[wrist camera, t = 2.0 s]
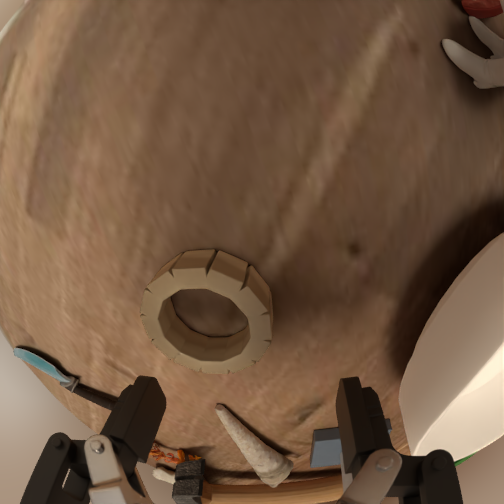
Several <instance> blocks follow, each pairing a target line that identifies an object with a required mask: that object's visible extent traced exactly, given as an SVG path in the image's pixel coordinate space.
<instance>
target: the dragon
mask: <svg viewBox="0 0 504 504" xmlns="http://www.w3.org/2000/svg"><path fill="white" fill-rule="evenodd" d="M158 446H159V445H158ZM152 447H156V448H157V450H156V449H155V448H154V449H155V450H153V449H151V450H150V453H151V452H152V453H151V454H149V455H152V456H154V455H156V456H154V457H157V455H159V458H156V460H155V461H157V459H158V460H159V459H165V458H167V459H169V460H171V461H167V460H166V459H165V462H168V463H169V462H173V463H174V462H175V463H176V464H179V463H182V462H185V459H184V458H185V455H184V452H183V450H178V451H177V452H178V456H179V459H178V458H174V455H173V454H172V453H168V454H167V455H170V456H172V458H171V457H166V456H165V455H164V453H163V451H162V452H161V451H160V450H159V449H158V447H157V446H156V444H155V443H154V444H153V445H152ZM160 452H161V453H160ZM161 457H164V458H161ZM200 458H201V457H197V456H196V455H195V457H193V456H192V455H189V459H190V460H189V461H194V459H195V460H199V459H200Z"/></svg>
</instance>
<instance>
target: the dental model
mask: <svg viewBox="0 0 504 504" xmlns="http://www.w3.org/2000/svg"><path fill="white" fill-rule="evenodd" d="M461 2H462V6H463V8H464V10H465V11H466V12H467V13H468V14H469V15H470V16H473V17H476V18H477V19H481V18H489V17H494V16H497V15H499V14H501V13H503V9H502V6H501V3H500V0H461Z"/></svg>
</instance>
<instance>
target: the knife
mask: <svg viewBox="0 0 504 504" xmlns="http://www.w3.org/2000/svg"><path fill="white" fill-rule="evenodd" d="M14 355H15V356H16V357H18V358H20V359H22V360H24V361H26V362H28V363H29V364H31V365H33V366H35V367H36V368H38V369H40V370H41V371H43V372H45V373H47V374H48V375H50V376H52V377H53V378H55V379H57V380H59V381H60V385H61V386H63V387H65V388H66V389H68V390H69V391H71V392H72V393H73V392H74V393H76V394H77V395H79V396H81V397H83V398H85V399H87V400H89V401H91V402H94V403H96V404H98V405H100V406H102V407H104V408H107V409H109V410H111V411H112V410H113V408H114V406H115V404H116V402H115V401H112V400H110V399H107V398H105V397H102V396H100V395H98V394H95V393H93V392H91V391H88V390H86V389H84V388H82V387H79V386H77V384H78V382H79V380H78V379H75V378H74V377H72V376H68V377H66V376H65V375H63V374H62V373H61V372H60V371H59V370H58V369H57V368H56V367H55V366H53V365H52V364H50V363H48V362H47V361H45V360H44V359H42V358H40V357H39V356H37V355H35V354H33V353H31V352H29V351H27V350H24V349H21V348H15V349H14Z"/></svg>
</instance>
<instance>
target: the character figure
mask: <svg viewBox="0 0 504 504" xmlns="http://www.w3.org/2000/svg"><path fill="white" fill-rule="evenodd" d="M500 3H501V6H502V9H503V12H504V0H500ZM469 21H470V24H471V27H472V29H473V30H474V32H475V34H476V35H477V37H478V38H479V39H480V40H481V41H482V42H483V43H484V44H485V45H486V46H488V47H489V48H490V49H491V51H492V52H493V54H494V55H493V56H490V58H491V59H487V60H486V59H484V58H482V57H479V56H477V55H475V54H474V53H472V52H470V51H469V50H467V49H466V48H464V47H462V46H461V45H459V44H458V43H456V42H455V41H453V40H450V39H443V40H442V45H443V48H444V50H445V52H446V53H447V55H448V56H449V58H450V59H451V60H452V61H453V62H454V63H455V64H456V65H457V66H458V67H459V68H460V69H461V70H463V71H464V72H466V73H467V74H469V75H470V76H471V77H473V78H474V81H473V83H474V84H475V85H476V86H477V87H478V88H480V89H482V88H492V87H493V88H496V87H497V86H498V87H500V86H502V87H504V39H502V38H500V37H499V36H497V35H496V34H495V33H494V32H492V31H491V30H490V29H489V28H488V27H486V26H485V25H484V24H483V23H482V22H481V21H480V20H478V19H477V18H476V17H473V16H470V17H469Z"/></svg>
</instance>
